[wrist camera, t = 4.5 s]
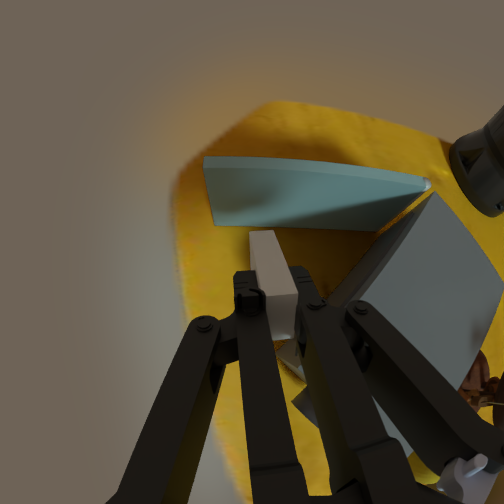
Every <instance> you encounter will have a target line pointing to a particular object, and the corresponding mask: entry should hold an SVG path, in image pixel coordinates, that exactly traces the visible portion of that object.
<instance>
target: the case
mask: <svg viewBox="0 0 504 504" xmlns="http://www.w3.org/2000/svg"><path fill="white" fill-rule="evenodd" d="M503 290H504V283H503V281H502V279H501V278H500V276H499V275H498V273H497V271H496V270H495V268H494V267H493V265H492V264H491V262H490V260H489V259H488V257H487V256H486V255H485V253H484V252H483V250H482V249H481V247H480V246H479V245H478V243H477V242H476V240H475V239H474V238H473V236H472V235H471V234H470V232H469V231H468V230H467V228H466V227H465V226H464V225H463V223H462V222H461V221H460V220H459V218H458V217H457V216H456V215H455V213H454V212H453V211H452V210H451V209H450V207H449V206H448V205H447V204H446V203H445V202H444V201H443V199H442V198H441V197H440V196H439V195H438V194H437V193H436V192H435V191H434V192H433V193H432V194H430V195H429V196H428V197H427V198H426V199H424V200H423V201H422V202H421V203H420V204H418V205H417V206H416V207H415V208H414V209H412V210H411V211H410V212H409V213H407V214H406V215H405V216H404V217H402V218H401V219H400V220H399V221H397V222H396V223H395V224H394V225H392V226H391V227H390V228H388V229H387V230H386V231H385V232H383V233H382V234H381V235H380V236H379V237H378V239H377V240H376V241H375V242H374V244H373V245H372V246H371V247H370V249H369V250H368V251H367V252H366V254H365V255H364V256H363V257H362V259H361V260H360V261H359V262H358V263H357V265H356V266H355V267H354V268H353V269H352V271H351V272H350V273H349V274H348V275H347V276H346V278H345V279H344V280H343V281H342V282H341V283H340V285H339V286H338V287H337V288H336V289H335V290H334V291H333V293H332V294H331V295H330V296H329V297H328V298H327V299H326V300H327V301H328V302H329V304H330V305H331V306H335V307H343V308H347V305H348V303H349V302H351V301H353V300H363V301H366V302H368V303H370V304H371V305H372V306H374V307H375V308H376V309H377V310H378V311H379V312H380V313H381V314H382V315H383V316H384V317H385V318H386V319H387V320H388V321H389V322H390V323H391V324H392V325H393V326H394V327H395V328H396V329H397V330H398V331H399V332H400V333H401V334H402V335H403V336H404V337H405V338H406V339H407V340H408V341H409V342H410V343H411V344H412V345H413V346H414V347H415V348H416V349H417V350H418V351H419V352H420V353H421V354H422V355H423V356H424V357H425V358H426V359H427V360H428V361H429V362H430V363H431V364H432V365H433V366H434V367H435V368H436V369H437V370H438V371H439V372H440V373H441V375H442V376H443V377H444V378H445V379H446V380H447V381H448V382H449V383H450V384H451V385H452V386H453V387H454V388H455V389H456V391H457V390H458V389H459V387H460V385H461V384H462V382H463V380H464V378H465V377H466V375H467V373H468V371H469V369H470V368H471V366H472V364H473V362H474V360H475V358H476V356H477V354H478V352H479V350H480V348H481V346H482V344H483V341H484V339H485V337H486V335H487V332H488V330H489V328H490V325H491V323H492V320H493V318H494V315H495V313H496V310H497V307H498V305H499V302H500V299H501V296H502V293H503ZM296 340H297V336H296V333H294V338H291V339H289V340H288V341H287V342H286V343H285V344H284V345H283V346H282V347H281V348H280V349H279V350H278V351H277V352H276V353H275V355H276V356H277V357H278V358H279V359H280V360H281V361H282V362H283V363H284V364H285V365H286V366H287V367H288V368H289V369H291V370H292V371H293V372H294V373H295V374H296V375H297V376H298V377H299V378H300V379H301V380H302V381H303V382H305V383H306V379H305V376H304V372H303V368H302V365H301V361H300V358H299V354H297V356H295V348H296ZM306 384H307V383H306ZM373 400H374V402H375V404H376V407H377V409H378V411H379V414H380V416H381V419H382V421H383V424H384V426H385V429H386V431H387V433H388V435H389V436H390V437H393V438H396V439H398V440H399V441H400V443H401V445H402V446H403V449H404V451H405V454H406V456H407V458H408V457H409V455H410V454H411V453H412V452H413V451H414V450H413V449H412V448H411V446H410V445H409V444H408V443H407V441H406V440H405V439H404V437H403V436H402V435H401V433H400V432H399V431H398V429H397V428H396V427H395V425H394V424H393V423H392V421H391V420H390V419H389V418H388V416H387V415H386V414H385V412H384V411H383V410H382V408H381V407H380V406H379V404H378V403H377V402H376V401H375V399H374V398H373ZM291 402H292V403H293V404H294V406H295V407H296V408H297V409H298V410H299V411H300V412H301V413H302V414H303V415H304V416H305V417H306V418H308V419H309V420H310V421H311V422H312V423H313V424H314V425H315V426H316V427H318V423H317V419H316V416H315V412H314V408H313V405H312V401H311V397H310V394H309V390H308V386H306V387H305V388H304V389H303V390H302V391H301V392H300V393H299V394H298V395H297V396H296V397H295V398H294V399H293V400H292V401H291ZM318 428H319V427H318Z"/></svg>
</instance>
